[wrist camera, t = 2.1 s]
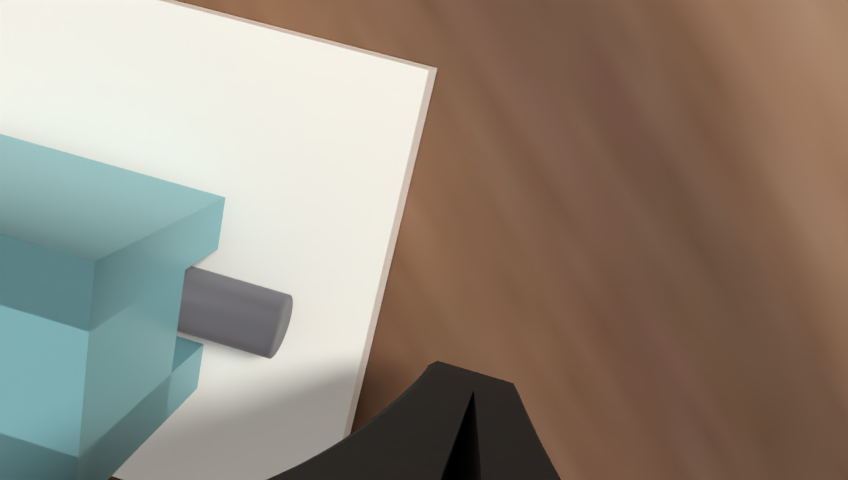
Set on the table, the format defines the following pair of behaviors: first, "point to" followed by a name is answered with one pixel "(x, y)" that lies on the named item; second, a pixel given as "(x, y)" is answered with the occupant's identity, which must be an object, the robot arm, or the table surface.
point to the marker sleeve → (92, 309)
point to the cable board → (238, 201)
